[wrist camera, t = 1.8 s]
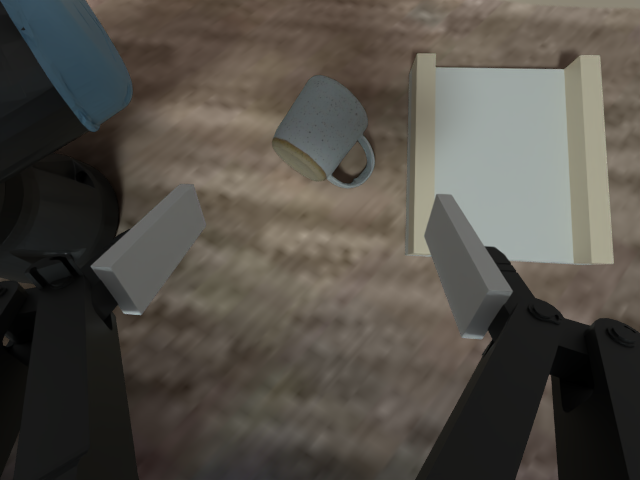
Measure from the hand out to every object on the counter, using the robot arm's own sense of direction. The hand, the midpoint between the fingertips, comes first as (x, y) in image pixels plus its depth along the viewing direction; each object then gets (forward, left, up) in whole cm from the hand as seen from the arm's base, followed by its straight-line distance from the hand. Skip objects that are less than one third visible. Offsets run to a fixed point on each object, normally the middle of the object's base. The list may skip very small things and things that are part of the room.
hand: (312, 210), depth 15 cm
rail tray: (+19, +10, -16) cm, 27 cm away
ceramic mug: (0, +11, -16) cm, 19 cm away
